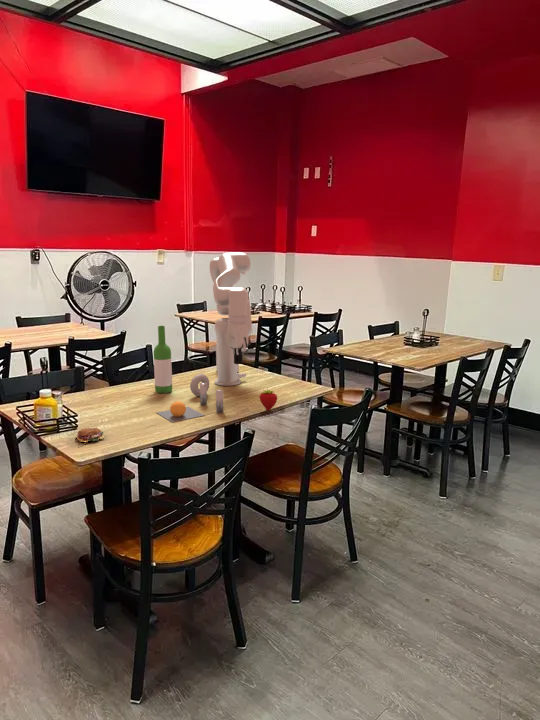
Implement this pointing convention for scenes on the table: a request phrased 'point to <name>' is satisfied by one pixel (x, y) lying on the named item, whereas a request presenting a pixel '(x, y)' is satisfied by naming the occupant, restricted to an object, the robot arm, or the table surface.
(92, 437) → the hamburger
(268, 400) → the strawberry
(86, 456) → the table surface
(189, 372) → the table surface
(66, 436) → the table surface
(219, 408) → the post
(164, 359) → the wine bottle
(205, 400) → the post
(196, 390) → the donut
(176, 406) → the ball
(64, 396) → the table surface
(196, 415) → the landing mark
